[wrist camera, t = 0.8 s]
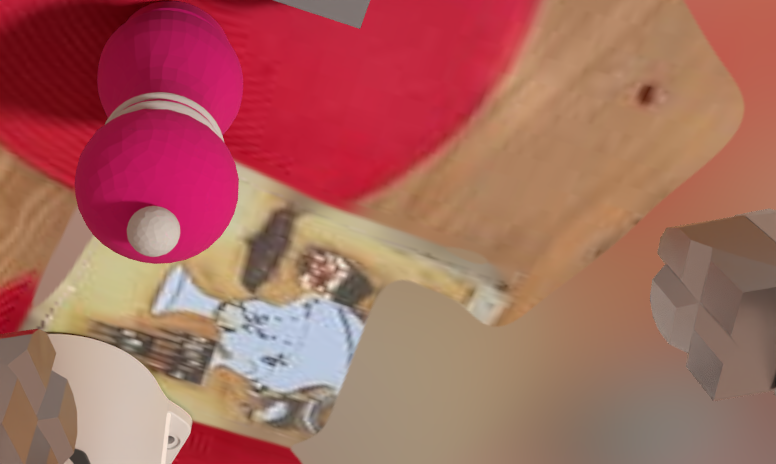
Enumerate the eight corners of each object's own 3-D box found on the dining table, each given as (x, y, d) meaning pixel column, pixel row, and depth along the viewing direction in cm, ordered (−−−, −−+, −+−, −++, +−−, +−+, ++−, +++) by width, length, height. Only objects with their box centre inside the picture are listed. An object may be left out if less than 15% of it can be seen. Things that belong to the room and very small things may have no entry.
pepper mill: (89, 84, 41) (6, 293, 24) (135, -34, 38) (77, 111, 22) (210, 133, 44) (210, 350, 27) (261, 27, 41) (295, 196, 25)
